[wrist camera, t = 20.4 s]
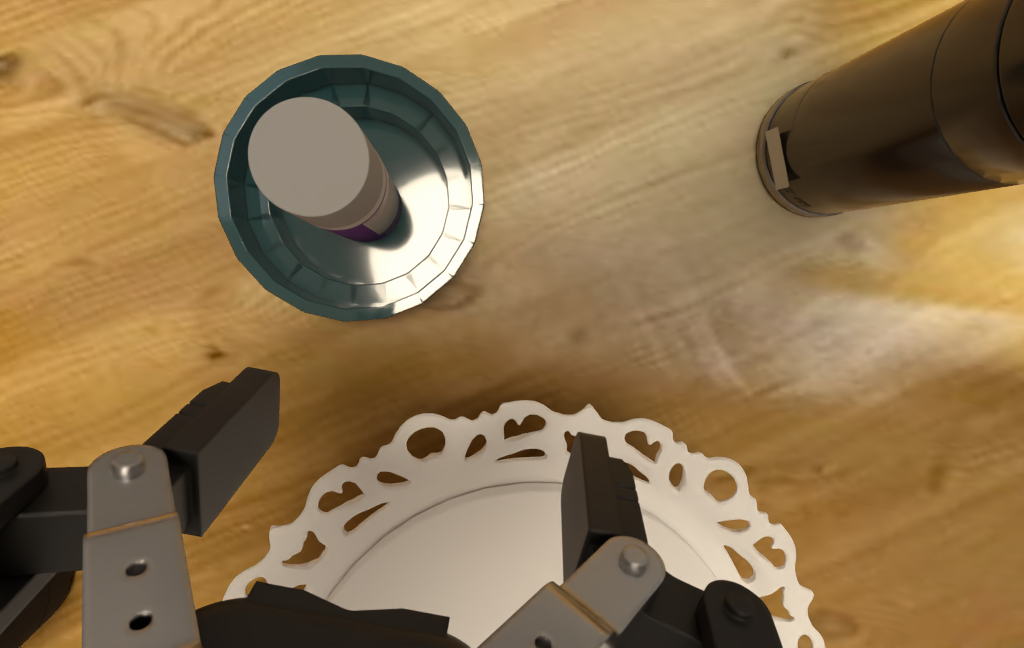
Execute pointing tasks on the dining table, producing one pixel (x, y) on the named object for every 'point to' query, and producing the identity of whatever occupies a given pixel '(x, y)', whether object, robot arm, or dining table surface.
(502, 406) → the bowl
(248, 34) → the dining table surface
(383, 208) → the container
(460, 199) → the bowl
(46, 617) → the pen holder
